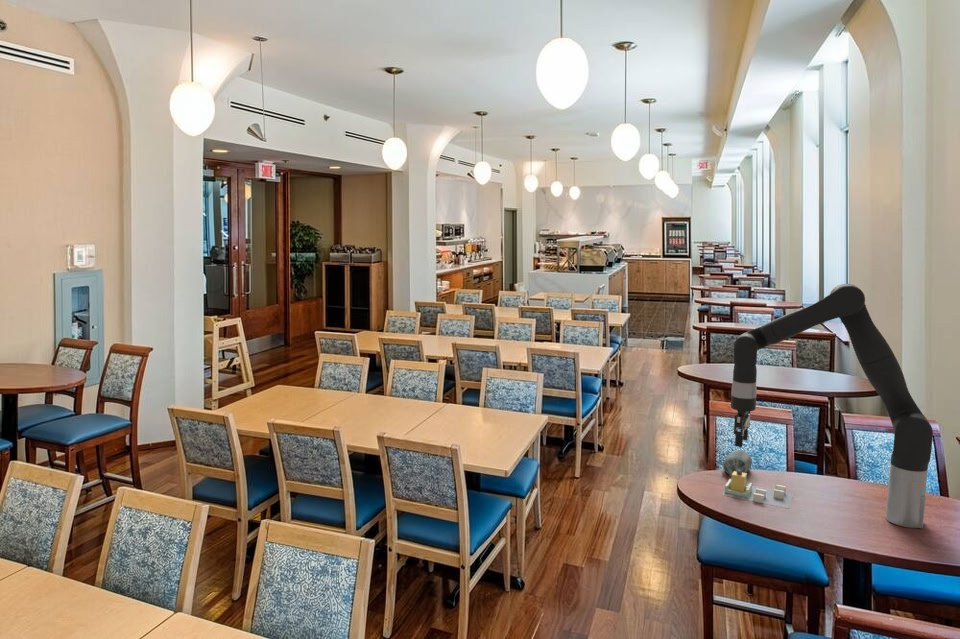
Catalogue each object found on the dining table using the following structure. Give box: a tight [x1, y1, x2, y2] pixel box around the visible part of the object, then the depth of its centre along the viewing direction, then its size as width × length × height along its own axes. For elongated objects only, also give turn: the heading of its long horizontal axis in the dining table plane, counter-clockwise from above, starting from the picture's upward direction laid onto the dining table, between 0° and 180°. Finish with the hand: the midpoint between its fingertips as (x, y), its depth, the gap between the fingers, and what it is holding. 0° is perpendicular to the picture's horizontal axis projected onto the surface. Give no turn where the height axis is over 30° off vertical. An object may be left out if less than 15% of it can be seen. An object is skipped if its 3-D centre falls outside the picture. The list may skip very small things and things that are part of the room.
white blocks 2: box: [773, 484, 787, 499], centre depth 208 cm, size 3×6×2 cm, turn 148°
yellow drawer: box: [730, 470, 748, 493], centre depth 211 cm, size 4×4×7 cm
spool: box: [722, 449, 753, 477], centre depth 229 cm, size 14×10×10 cm
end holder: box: [724, 478, 753, 497], centre depth 211 cm, size 7×7×2 cm
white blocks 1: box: [752, 488, 766, 504], centre depth 205 cm, size 3×6×2 cm, turn 148°
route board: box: [721, 483, 795, 510], centre depth 209 cm, size 20×14×1 cm
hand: (741, 443), depth 209 cm, fingers open, 8 cm apart
